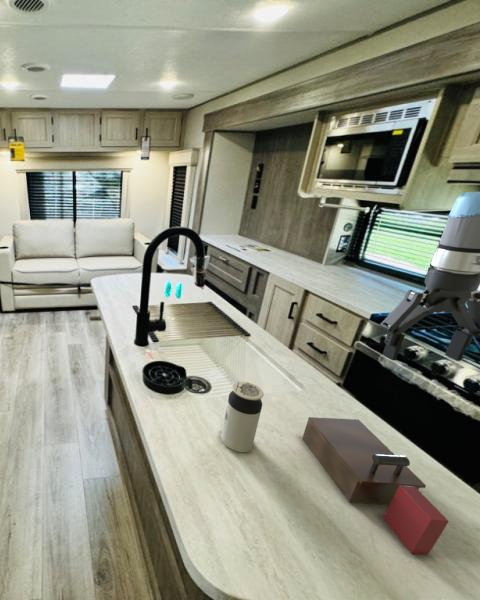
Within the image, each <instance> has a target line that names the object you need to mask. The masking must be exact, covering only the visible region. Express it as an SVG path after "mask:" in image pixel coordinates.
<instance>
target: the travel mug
mask: <svg viewBox="0 0 480 600" xmlns="http://www.w3.org/2000/svg"><path fill="white" fill-rule="evenodd" d="M264 395H265V394H264V391H263V389H262V388H261V387H260V386H258V384H254V383H252V382H250V381H244V380H239V381H235V382H233V383H232V384H231V391H230V393H229V394H228V399H227V403H226V404H227V405H226V408H225V409H226V410H225V415H224V420H223V425H222V430H221V435H220V437H221V440H222V441H221V442H223V444H224V445H225V446H226V447H227V448H229V449H231V450H233V451H236V452H238V453H248V452H250V451H251V450H252V449H253V445H254V441H255V438H256V433H257V429H258V425H259V422H260V418H261V417H260V416H261V412H262V408H263V401H262V399H263V397H264Z"/></svg>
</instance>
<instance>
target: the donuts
mask: <svg viewBox="0 0 480 600" xmlns="http://www.w3.org/2000/svg"><path fill="white" fill-rule="evenodd" d="M183 288H184V284H183V283H182V282H178V283H177V284H176V287H175V293H174V294H175V297H176V299H181V298H182V296H183ZM172 289H173V285H172V282H171V281H169V280H168V281H166V282H165V285H164V297H165V298H169V297H171V295H172V291H173V290H172Z"/></svg>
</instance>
